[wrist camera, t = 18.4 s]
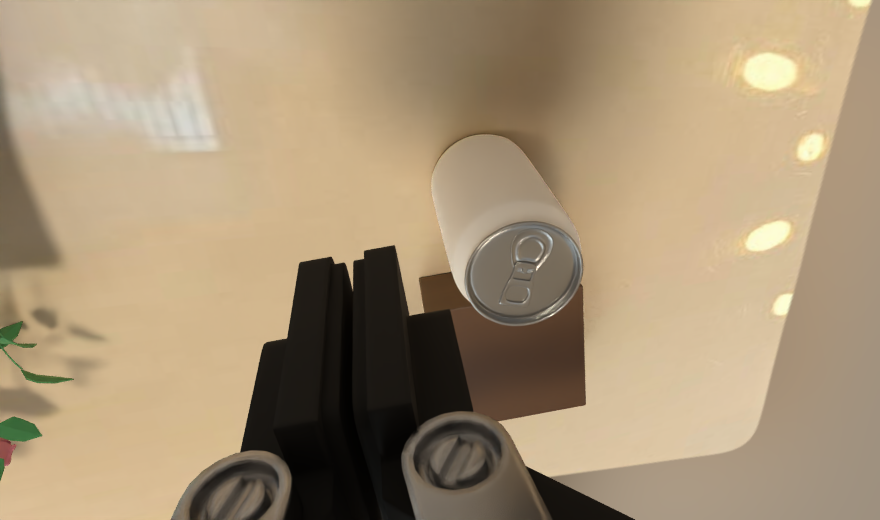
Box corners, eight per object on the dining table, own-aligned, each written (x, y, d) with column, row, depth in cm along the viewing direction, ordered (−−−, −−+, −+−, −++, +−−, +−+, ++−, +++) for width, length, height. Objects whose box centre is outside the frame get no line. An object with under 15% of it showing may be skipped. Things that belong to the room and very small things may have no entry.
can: (543, 141, 38) (611, 224, 28) (515, 233, 41) (567, 340, 31) (442, 122, 37) (474, 202, 26) (420, 219, 40) (441, 326, 29)
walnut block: (418, 277, 42) (424, 314, 38) (562, 252, 42) (582, 286, 38) (439, 388, 47) (446, 431, 43) (567, 365, 47) (586, 405, 43)
